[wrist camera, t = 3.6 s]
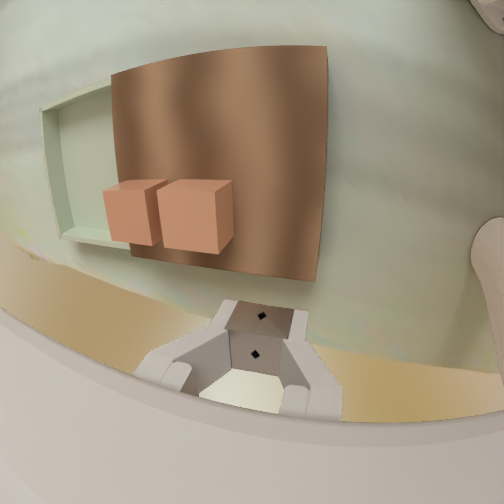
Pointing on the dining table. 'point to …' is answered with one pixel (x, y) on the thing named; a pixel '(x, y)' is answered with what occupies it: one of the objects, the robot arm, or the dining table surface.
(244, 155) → the board
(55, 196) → the tray
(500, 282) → the cup
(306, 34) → the dining table surface
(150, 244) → the tile
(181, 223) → the tile
